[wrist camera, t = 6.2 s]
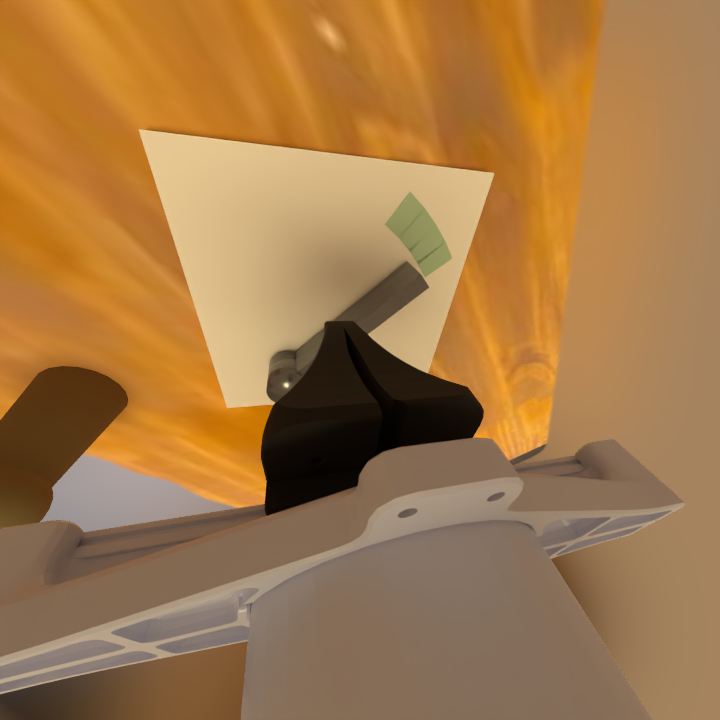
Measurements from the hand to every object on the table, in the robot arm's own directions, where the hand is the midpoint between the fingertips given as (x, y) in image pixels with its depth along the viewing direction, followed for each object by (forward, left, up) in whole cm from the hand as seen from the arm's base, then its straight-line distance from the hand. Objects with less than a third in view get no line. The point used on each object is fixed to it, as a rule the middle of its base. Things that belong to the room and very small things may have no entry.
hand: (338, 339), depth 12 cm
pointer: (-4, -1, -8) cm, 9 cm away
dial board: (-3, -1, -9) cm, 10 cm away
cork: (-11, +20, -10) cm, 25 cm away
